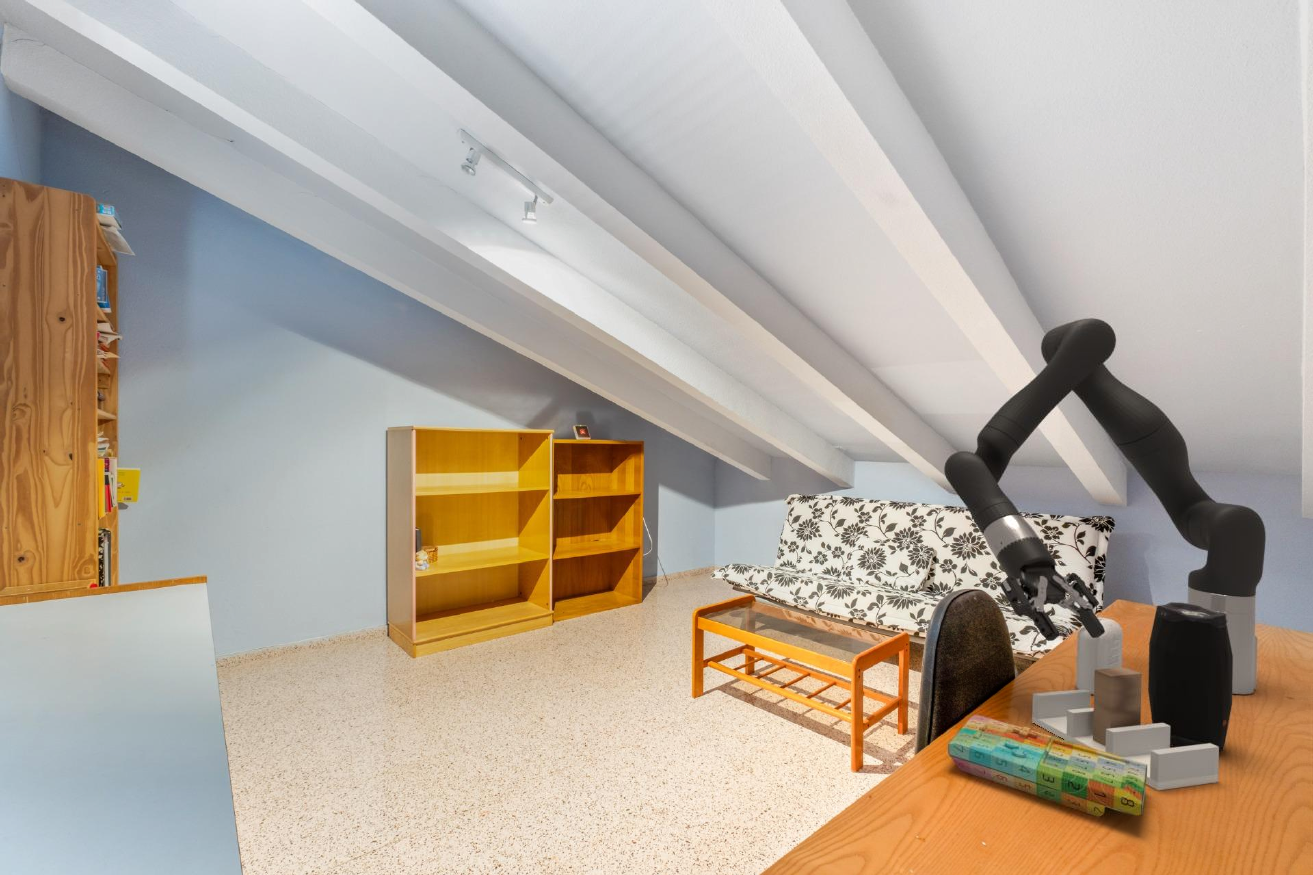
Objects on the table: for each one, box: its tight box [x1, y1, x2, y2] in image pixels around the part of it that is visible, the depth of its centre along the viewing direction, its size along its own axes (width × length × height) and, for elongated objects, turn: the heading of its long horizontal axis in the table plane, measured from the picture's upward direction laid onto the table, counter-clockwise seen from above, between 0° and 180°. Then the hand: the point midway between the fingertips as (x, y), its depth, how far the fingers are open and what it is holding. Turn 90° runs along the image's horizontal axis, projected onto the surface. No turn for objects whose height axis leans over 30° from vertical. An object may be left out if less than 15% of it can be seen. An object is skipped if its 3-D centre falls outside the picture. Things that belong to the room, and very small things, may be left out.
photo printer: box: [1075, 617, 1124, 696], centre depth 112 cm, size 10×4×12 cm, turn 123°
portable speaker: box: [1147, 601, 1233, 751], centre depth 91 cm, size 9×9×20 cm
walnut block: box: [1093, 666, 1143, 746], centre depth 89 cm, size 6×2×10 cm, turn 105°
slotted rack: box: [1031, 689, 1220, 791], centre depth 88 cm, size 10×19×4 cm, turn 14°
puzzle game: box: [947, 714, 1147, 818], centre depth 80 cm, size 12×5×20 cm
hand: (1077, 637), depth 95 cm, fingers open, 8 cm apart
